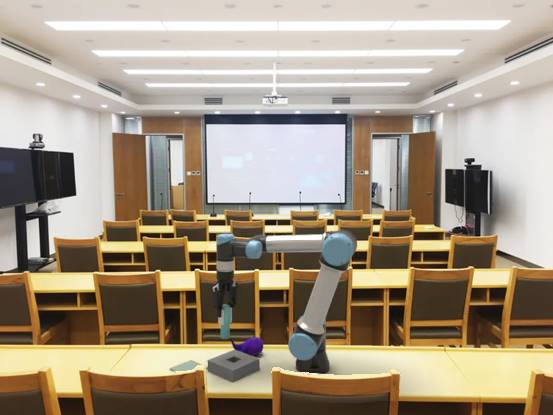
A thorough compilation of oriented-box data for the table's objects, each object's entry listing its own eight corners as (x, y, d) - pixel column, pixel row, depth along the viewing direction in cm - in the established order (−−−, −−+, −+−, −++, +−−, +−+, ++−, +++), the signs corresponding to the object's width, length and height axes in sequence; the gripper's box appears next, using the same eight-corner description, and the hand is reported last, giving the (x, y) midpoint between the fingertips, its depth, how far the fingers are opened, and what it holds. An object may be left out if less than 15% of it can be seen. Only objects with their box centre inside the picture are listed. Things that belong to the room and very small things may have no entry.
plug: (231, 337, 205) (231, 305, 203) (224, 339, 202) (224, 307, 200) (225, 334, 207) (225, 303, 206) (218, 337, 204) (218, 305, 203)
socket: (259, 369, 206) (259, 358, 205) (232, 382, 194) (232, 370, 194) (234, 360, 217) (234, 349, 216) (207, 371, 205) (207, 360, 204)
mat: (208, 368, 207) (208, 367, 207) (186, 377, 199) (186, 376, 199) (191, 361, 215) (191, 359, 215) (169, 369, 207) (169, 368, 207)
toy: (232, 361, 218) (264, 357, 218) (229, 341, 217) (261, 337, 218) (233, 353, 227) (264, 350, 227) (231, 334, 226) (262, 330, 226)
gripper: (233, 265, 211) (233, 316, 213) (204, 271, 198) (204, 325, 200) (245, 268, 206) (245, 320, 208) (215, 274, 193) (215, 330, 195)
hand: (225, 322), depth 204 cm, fingers closed on plug, 4 cm apart
